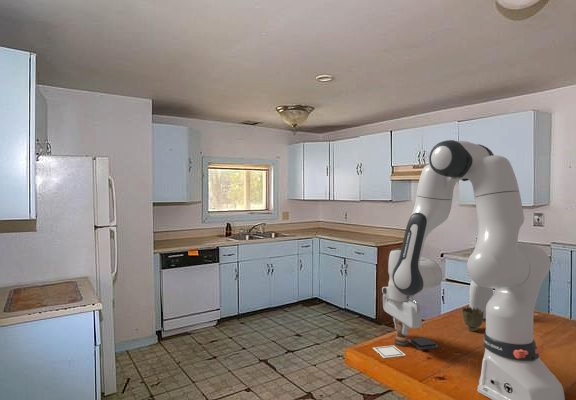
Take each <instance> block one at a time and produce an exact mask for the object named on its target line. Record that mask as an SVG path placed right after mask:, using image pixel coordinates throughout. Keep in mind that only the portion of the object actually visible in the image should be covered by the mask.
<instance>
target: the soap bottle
mask: <svg viewBox="0 0 576 400" xmlns="http://www.w3.org/2000/svg"><path fill="white" fill-rule="evenodd" d="M470 281H471V282H470V286H469V296H468V297H469V299H468V300H469V303H468V304H469V308H470V307H471V308H472V310H473V308H475V309H476V308H479V310H480V309H481V312H483V311H484V314H483V320H486V305H487V303H488V301H489V300H490V299H491V297H492V296H493V294H494V288H486V287H481V286H479V285H477V284H476V283H475V282H473V280H472V279H471V280H470Z"/></svg>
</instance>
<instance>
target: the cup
mask: <svg viewBox="0 0 576 400" xmlns="http://www.w3.org/2000/svg"><path fill="white" fill-rule="evenodd" d="M461 311H462V318H463V322H464V324H465V325H466V326H467V329H468V331H470V332H477V331H479V328H480V327H481V326H482V324H483V320H484V319H483V314H484V311H483V312H481V309H480V310H479V308H476V309H475V308H473V310H472V308H471V307H470V306H469V307H468V306H467V307H462V309H461Z"/></svg>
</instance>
